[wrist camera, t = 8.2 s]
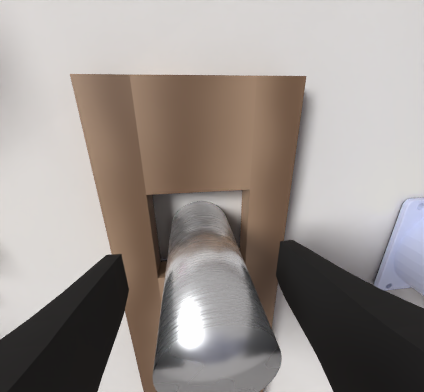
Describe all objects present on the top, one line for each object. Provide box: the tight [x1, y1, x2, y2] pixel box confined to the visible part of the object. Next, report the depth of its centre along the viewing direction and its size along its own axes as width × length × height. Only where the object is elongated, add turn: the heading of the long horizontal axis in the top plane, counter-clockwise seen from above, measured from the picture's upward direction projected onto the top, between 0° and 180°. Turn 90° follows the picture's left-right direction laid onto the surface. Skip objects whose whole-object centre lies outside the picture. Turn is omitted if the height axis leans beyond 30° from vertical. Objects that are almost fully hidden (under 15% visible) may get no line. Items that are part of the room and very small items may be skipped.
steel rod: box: [152, 201, 281, 392], centre depth 9 cm, size 4×4×8 cm
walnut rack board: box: [70, 74, 306, 392], centre depth 15 cm, size 10×32×2 cm, turn 1°
